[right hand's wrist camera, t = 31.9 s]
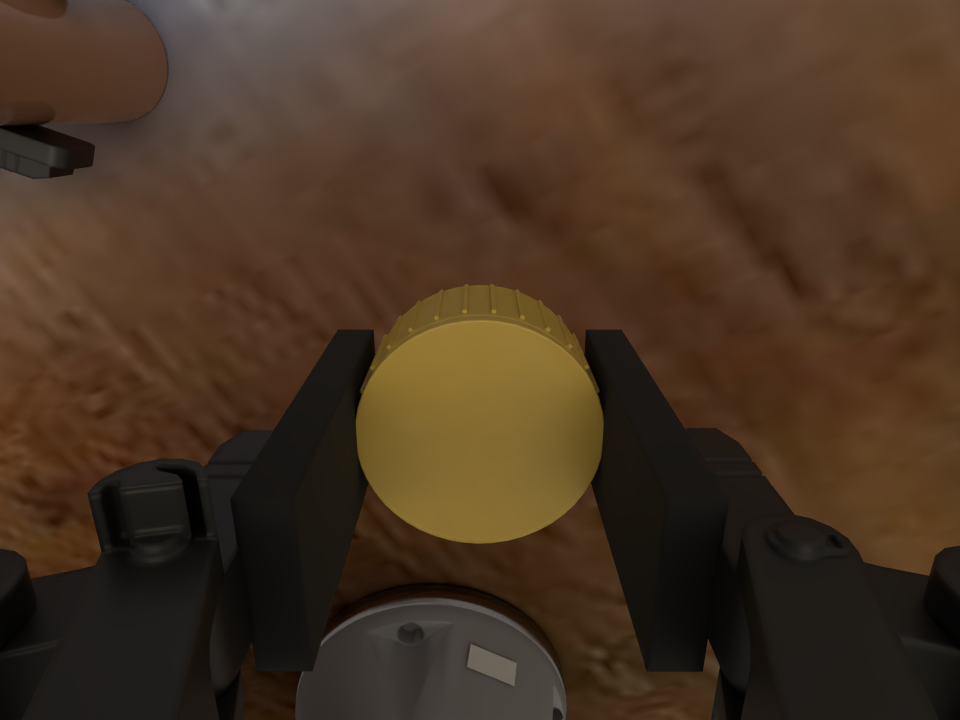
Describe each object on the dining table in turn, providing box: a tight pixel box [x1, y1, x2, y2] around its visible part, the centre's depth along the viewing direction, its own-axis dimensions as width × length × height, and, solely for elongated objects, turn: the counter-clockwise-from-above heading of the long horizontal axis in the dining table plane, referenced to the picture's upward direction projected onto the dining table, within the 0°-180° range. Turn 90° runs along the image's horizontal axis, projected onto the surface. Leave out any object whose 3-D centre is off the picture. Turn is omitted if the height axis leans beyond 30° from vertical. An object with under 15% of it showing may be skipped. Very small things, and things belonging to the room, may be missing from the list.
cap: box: [356, 284, 604, 543], centre depth 13 cm, size 5×5×2 cm
